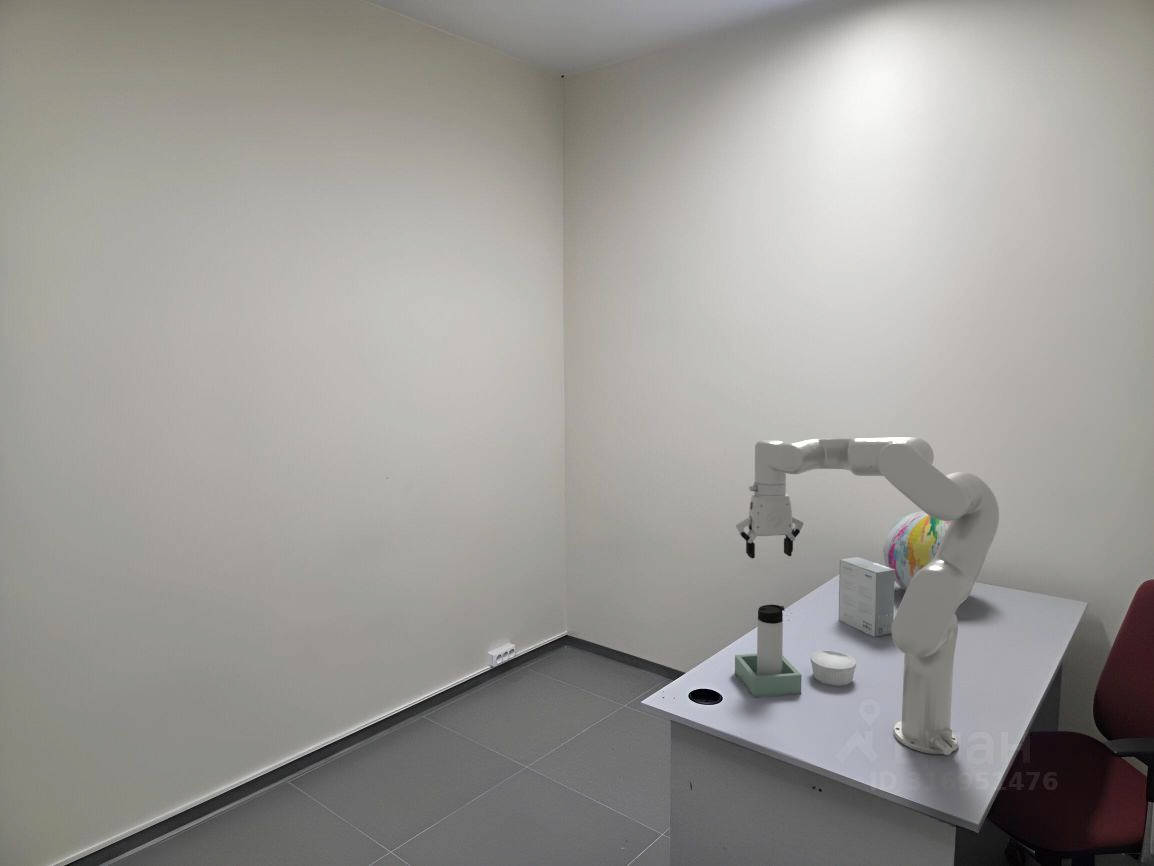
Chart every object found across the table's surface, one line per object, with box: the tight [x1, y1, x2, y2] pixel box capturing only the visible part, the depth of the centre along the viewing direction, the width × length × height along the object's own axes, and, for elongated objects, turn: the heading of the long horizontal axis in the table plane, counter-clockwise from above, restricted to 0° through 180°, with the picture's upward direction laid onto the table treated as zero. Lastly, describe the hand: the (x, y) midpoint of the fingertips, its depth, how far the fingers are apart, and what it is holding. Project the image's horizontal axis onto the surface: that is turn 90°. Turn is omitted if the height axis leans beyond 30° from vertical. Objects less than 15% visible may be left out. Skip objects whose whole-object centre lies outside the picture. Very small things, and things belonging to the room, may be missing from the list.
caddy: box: [734, 653, 802, 699], centre depth 179 cm, size 13×12×5 cm
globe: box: [882, 510, 981, 591], centre depth 236 cm, size 30×30×30 cm
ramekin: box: [810, 650, 857, 687], centre depth 181 cm, size 11×11×5 cm
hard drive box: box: [838, 556, 896, 638], centre depth 212 cm, size 16×8×20 cm, turn 22°
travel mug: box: [756, 604, 785, 676], centre depth 177 cm, size 6×7×20 cm
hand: (769, 555), depth 175 cm, fingers open, 9 cm apart
